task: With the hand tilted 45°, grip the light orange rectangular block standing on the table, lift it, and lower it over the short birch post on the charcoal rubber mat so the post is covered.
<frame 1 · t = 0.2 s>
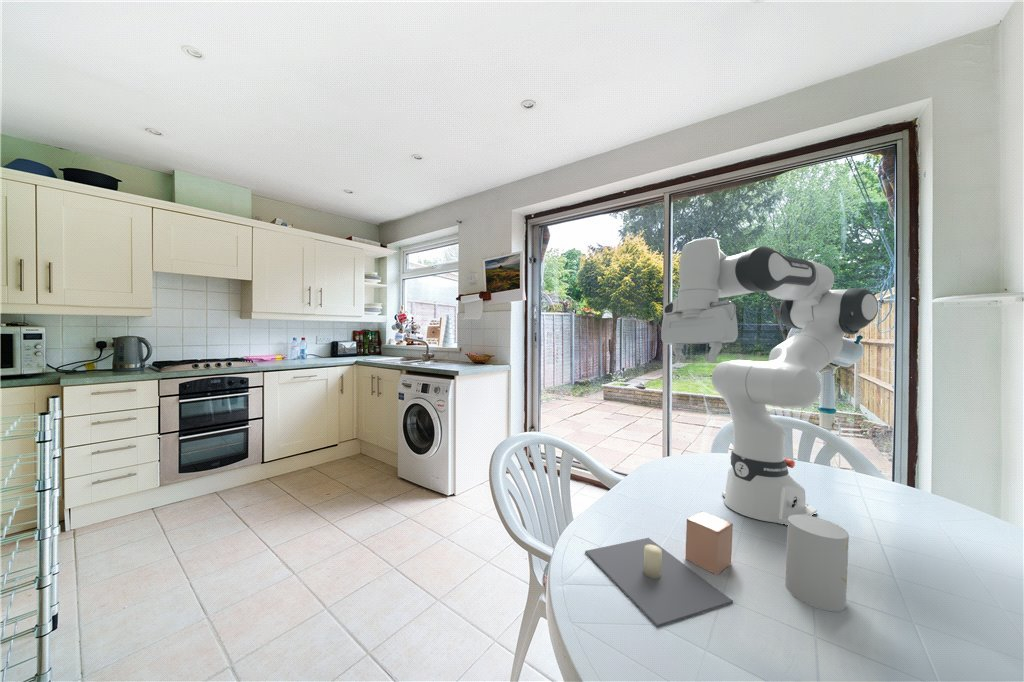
hand: (694, 362, 86), 39 cm above the table, tool pointing down, fingers open, 8 cm apart
white oval cylinder: (814, 595, 64), on the table
light orange rectangular block: (708, 561, 72), on the table
mat: (652, 575, 67), on the table
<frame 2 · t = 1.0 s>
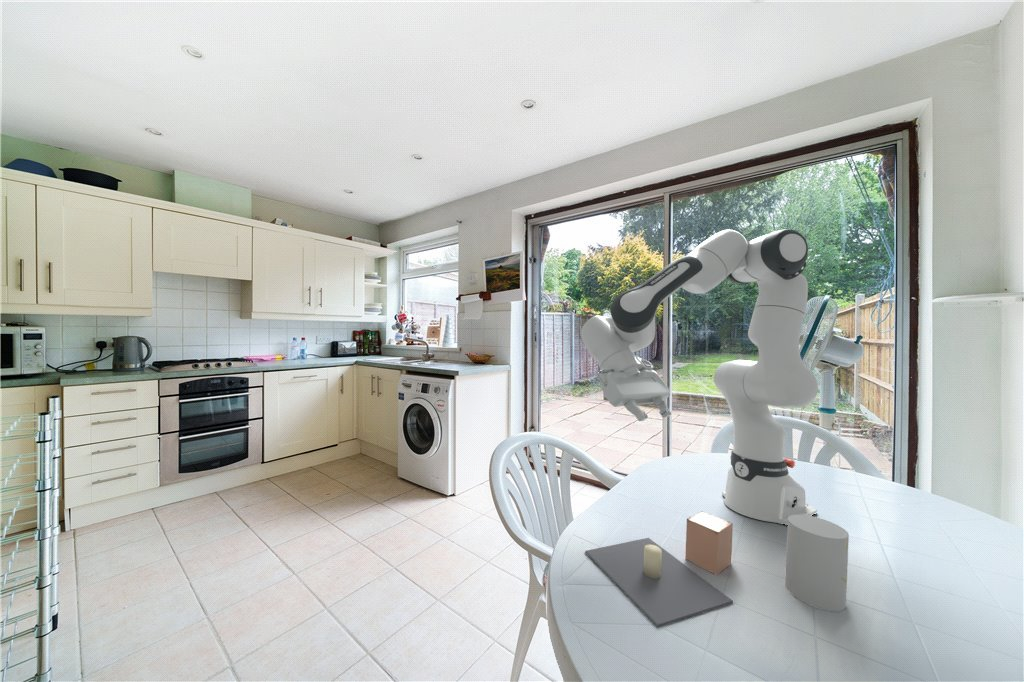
hand: (656, 417, 82), 26 cm above the table, tool tilted 45°, fingers open, 8 cm apart
nothing on the table moved.
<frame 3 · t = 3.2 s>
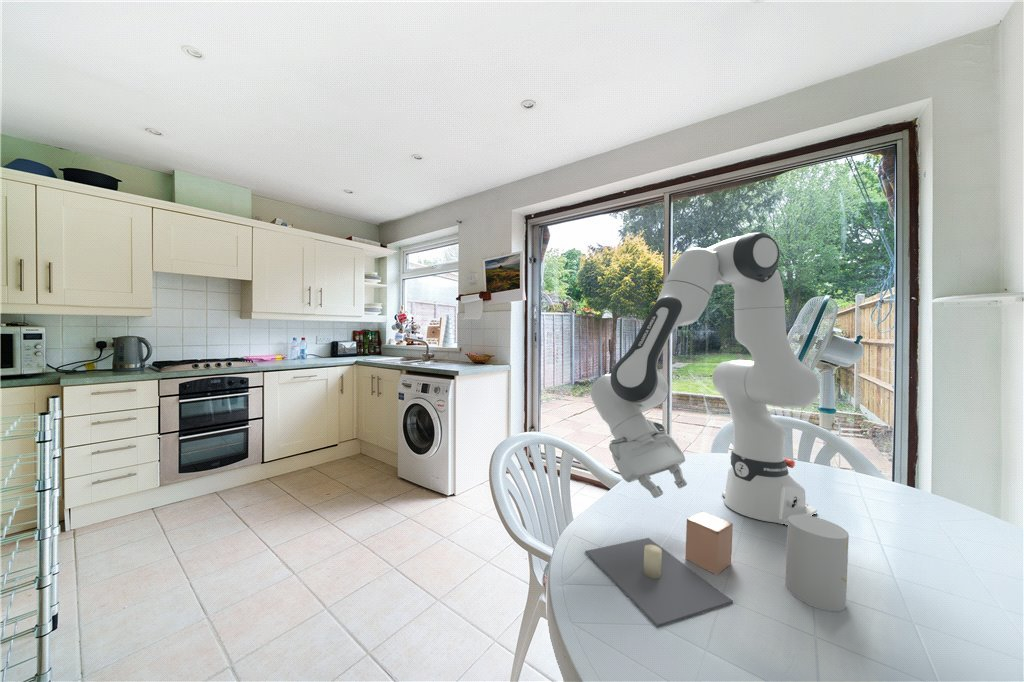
hand: (671, 491, 79), 11 cm above the table, tool tilted 45°, fingers open, 8 cm apart
nothing on the table moved.
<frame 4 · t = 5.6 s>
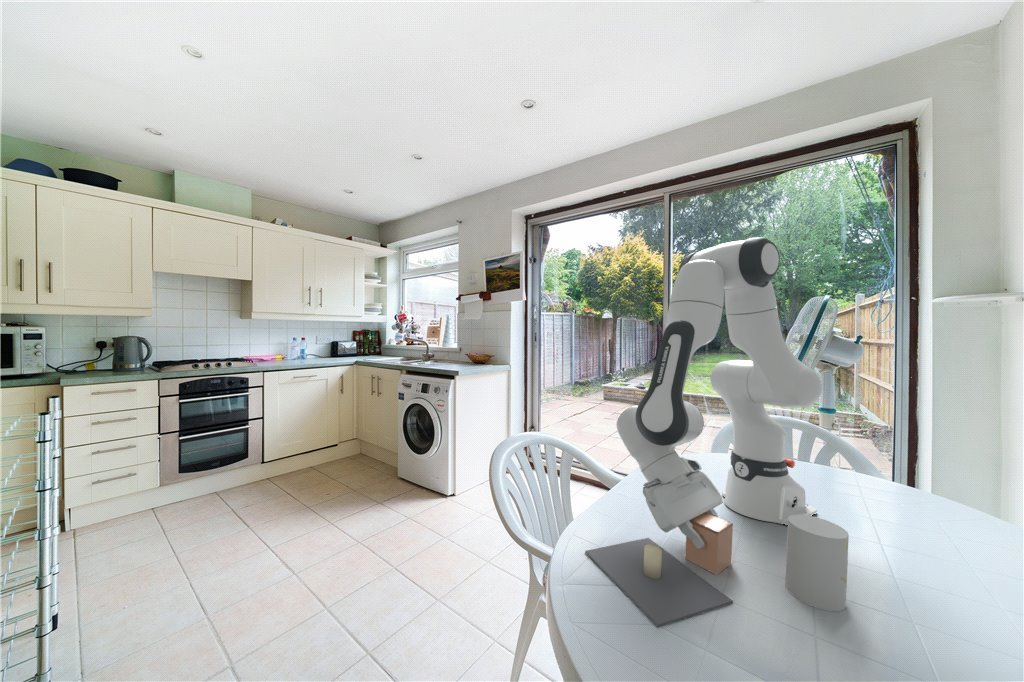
hand: (712, 540, 72), 4 cm above the table, tool tilted 45°, fingers closed on light orange rectangular block, 6 cm apart
light orange rectangular block: (708, 561, 72), on the table, touching gripper
everything else where it was.
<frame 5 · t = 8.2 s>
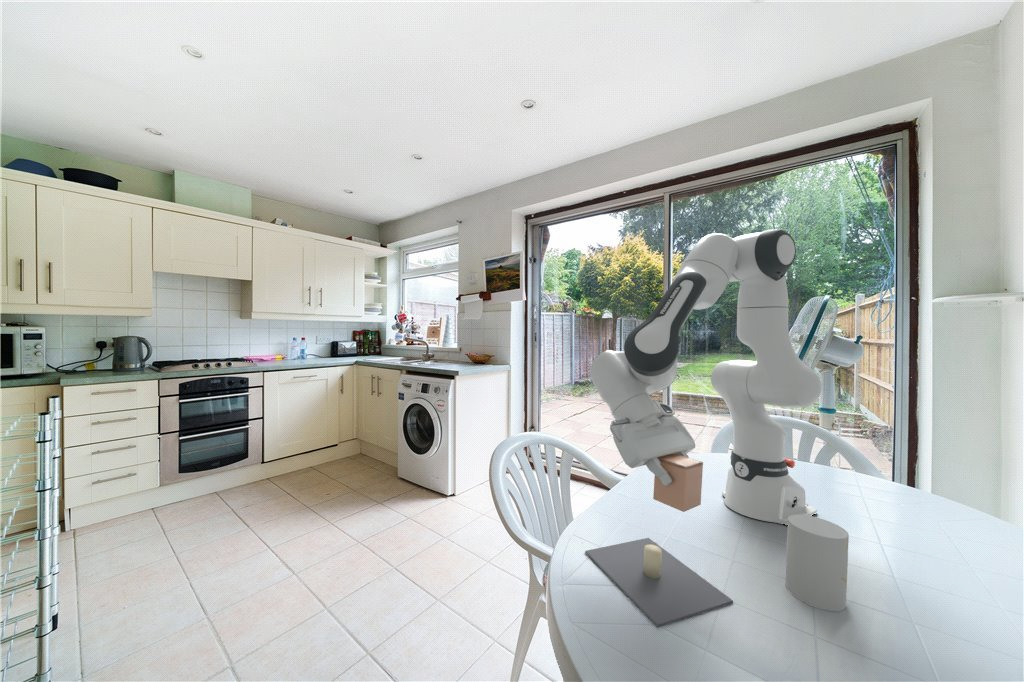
hand: (681, 479, 68), 17 cm above the table, tool tilted 45°, fingers closed on light orange rectangular block, 6 cm apart
light orange rectangular block: (676, 501, 69), point 13 cm above the table, touching gripper
everything else where it was.
when the fingers open (6 cm above the table, at t = 11.0 s): light orange rectangular block drops 2 cm, resting on mat.
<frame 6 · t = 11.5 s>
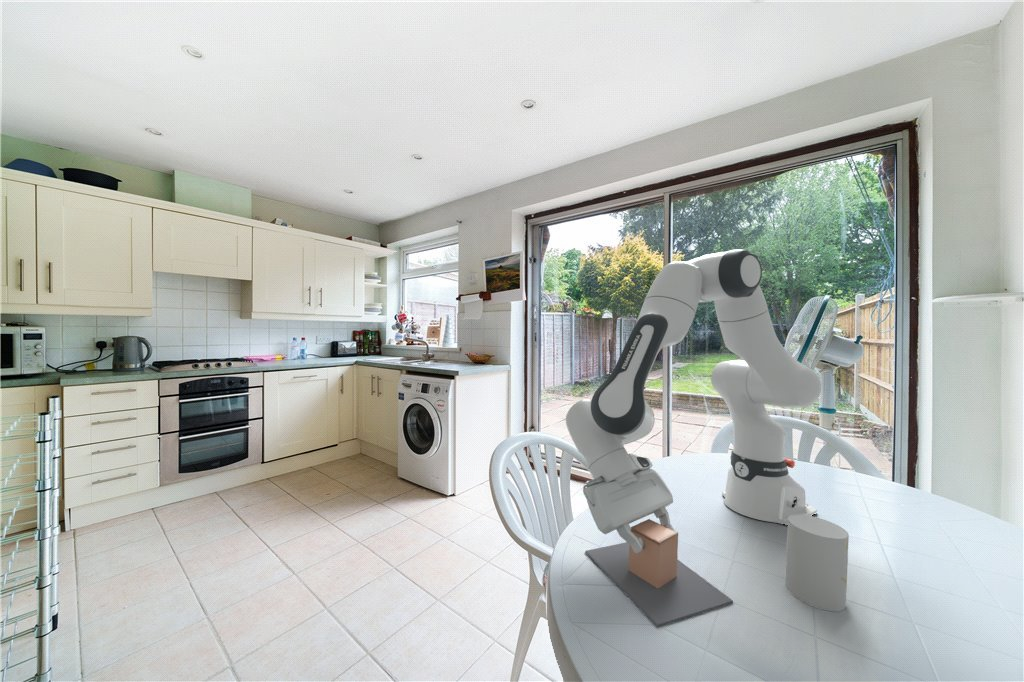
hand: (656, 542, 67), 6 cm above the table, tool tilted 45°, fingers open, 8 cm apart
light orange rectangular block: (652, 573, 67), resting on mat
everything else where it was.
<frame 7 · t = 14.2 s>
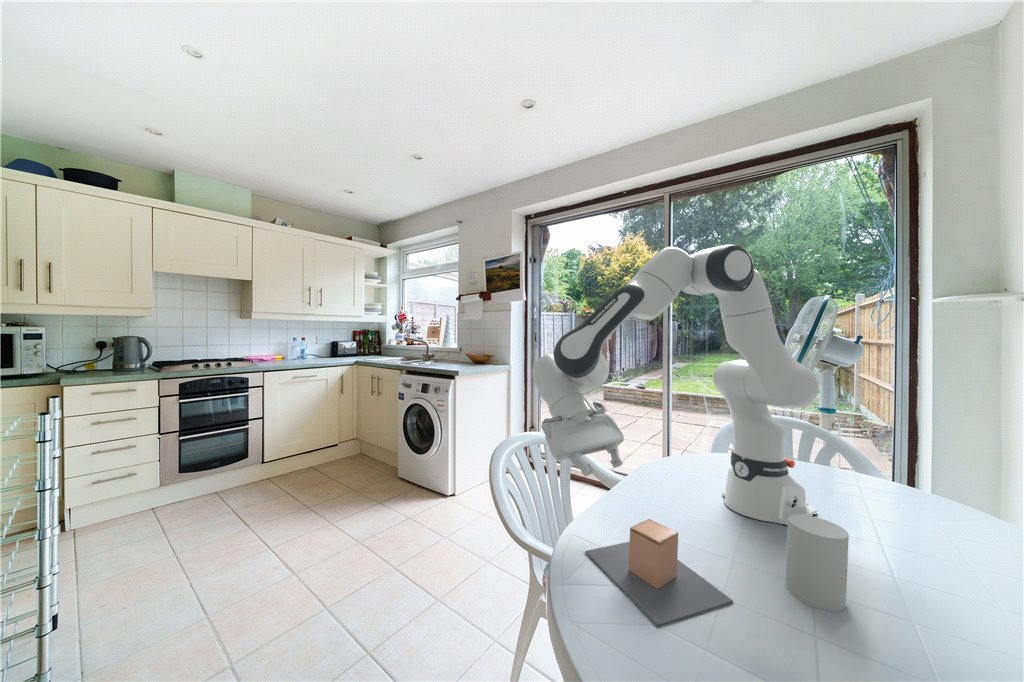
hand: (604, 470, 76), 16 cm above the table, tool tilted 45°, fingers open, 8 cm apart
nothing on the table moved.
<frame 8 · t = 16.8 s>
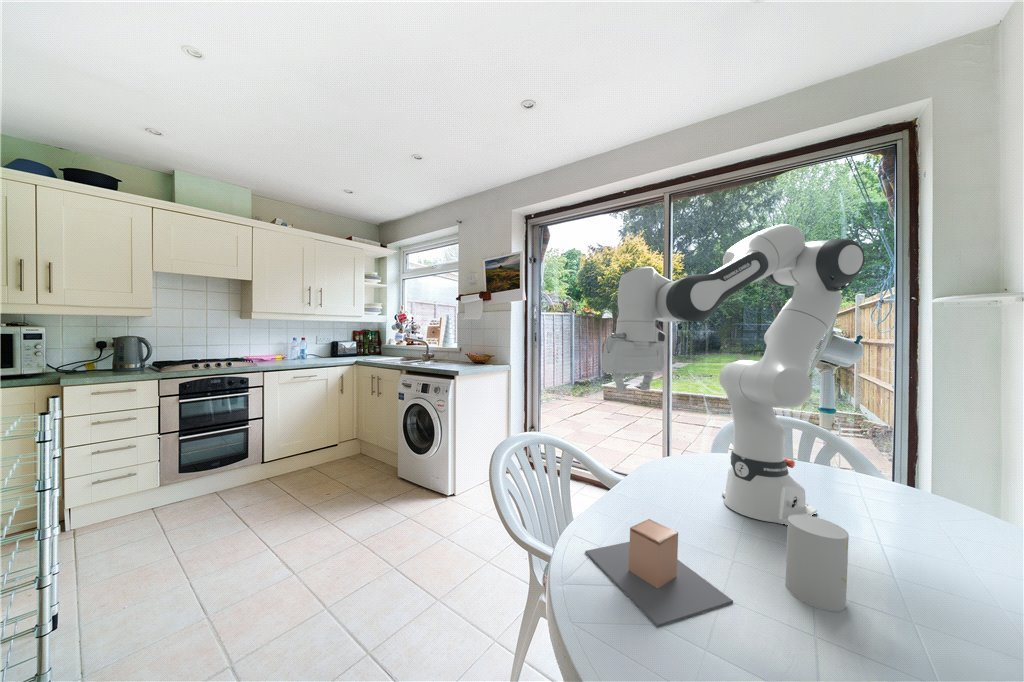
hand: (633, 391, 88), 31 cm above the table, tool pointing down, fingers open, 8 cm apart
nothing on the table moved.
at the end: light orange rectangular block 0.1 cm from the mat (horizontally); light orange rectangular block resting on mat; light orange rectangular block tilted 0° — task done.
